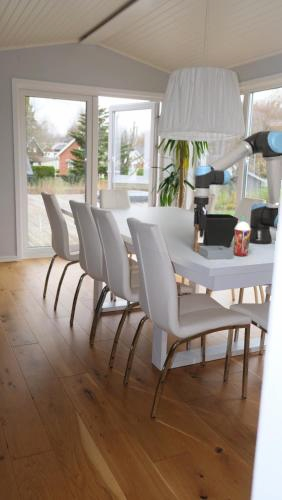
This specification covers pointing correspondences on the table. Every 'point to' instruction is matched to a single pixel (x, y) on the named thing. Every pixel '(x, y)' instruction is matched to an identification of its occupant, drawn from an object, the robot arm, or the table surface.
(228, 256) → the socket block
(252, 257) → the table surface
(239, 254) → the smoothie
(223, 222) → the flower pot
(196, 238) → the peg
